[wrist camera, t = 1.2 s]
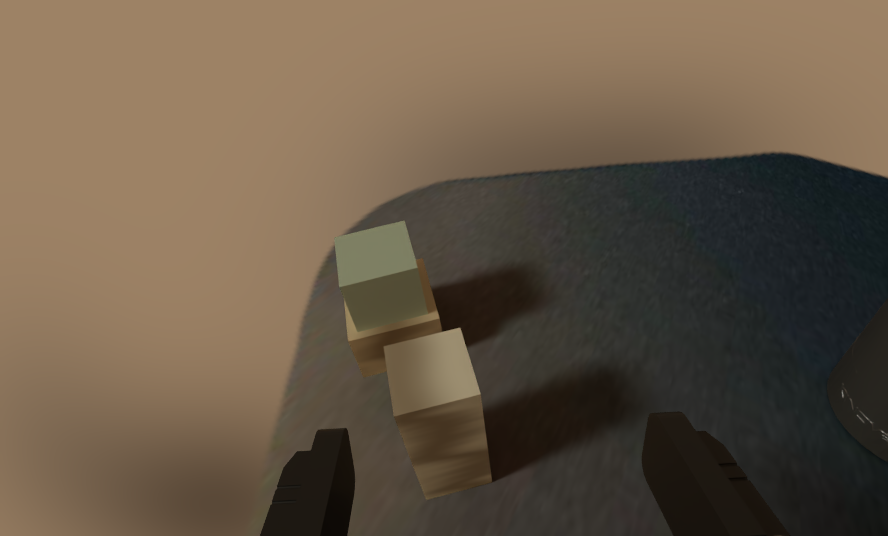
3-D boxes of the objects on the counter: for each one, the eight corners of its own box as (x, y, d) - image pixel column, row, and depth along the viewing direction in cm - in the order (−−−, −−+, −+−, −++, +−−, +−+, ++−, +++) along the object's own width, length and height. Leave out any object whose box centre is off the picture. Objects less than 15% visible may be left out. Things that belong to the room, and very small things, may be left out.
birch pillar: (475, 422, 36) (460, 327, 28) (492, 482, 32) (480, 394, 25) (415, 437, 35) (383, 346, 28) (426, 500, 32) (393, 416, 24)
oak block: (430, 297, 45) (422, 258, 42) (447, 357, 40) (439, 318, 37) (356, 315, 45) (342, 277, 41) (364, 378, 40) (348, 341, 36)
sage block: (414, 266, 41) (404, 220, 38) (428, 314, 37) (417, 267, 34) (351, 282, 41) (334, 237, 37) (357, 332, 37) (339, 287, 33)
